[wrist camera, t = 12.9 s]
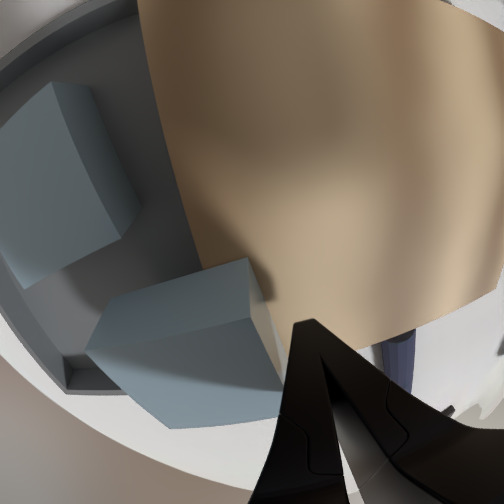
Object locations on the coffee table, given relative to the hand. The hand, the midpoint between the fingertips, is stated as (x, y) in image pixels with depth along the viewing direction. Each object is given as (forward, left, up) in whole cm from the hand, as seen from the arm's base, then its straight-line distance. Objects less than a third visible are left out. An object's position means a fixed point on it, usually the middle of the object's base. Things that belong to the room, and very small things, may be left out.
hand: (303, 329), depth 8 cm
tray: (+8, -4, -4) cm, 10 cm away
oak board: (-5, -4, -4) cm, 7 cm away
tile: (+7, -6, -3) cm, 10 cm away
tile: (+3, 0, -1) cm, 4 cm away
